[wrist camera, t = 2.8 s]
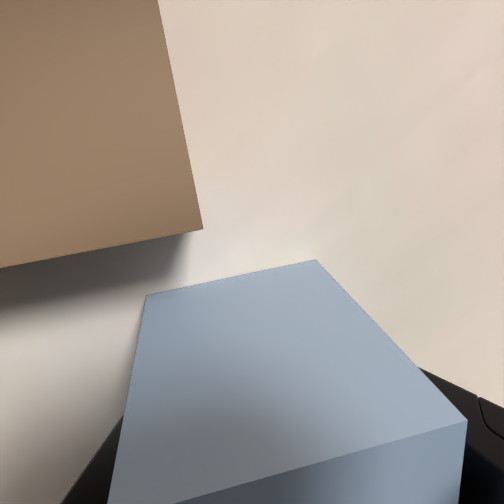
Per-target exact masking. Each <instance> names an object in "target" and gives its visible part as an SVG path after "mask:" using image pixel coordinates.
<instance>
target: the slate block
mask: <svg viewBox="0 0 504 504" xmlns="http://www.w3.org/2000/svg"><path fill="white" fill-rule="evenodd" d="M467 422H468V420H467V419H466V418H465V417H464V416H463V415H462V414H461V413H460V411H459V410H458V409H457V408H456V407H455V406H454V405H453V404H452V403H451V402H450V401H449V400H448V399H447V398H446V397H445V396H444V395H443V393H442V392H441V391H440V390H439V389H438V388H437V387H436V386H435V385H434V384H433V383H432V382H431V381H430V380H429V379H428V378H427V377H426V375H425V374H424V373H423V372H422V371H421V370H420V369H419V368H418V367H417V366H416V365H415V364H414V363H413V362H412V361H411V360H410V359H409V357H408V356H407V355H406V354H405V353H404V352H403V351H402V350H401V349H400V348H399V347H398V346H397V345H396V344H395V343H394V342H393V341H392V339H391V338H390V337H389V336H388V335H387V334H386V333H385V332H384V331H383V330H382V329H381V328H380V327H379V326H378V325H377V324H376V323H375V321H374V320H373V319H372V318H371V317H370V316H369V315H368V314H367V313H366V312H365V311H364V310H363V309H362V308H361V307H360V306H359V305H358V303H357V302H356V301H355V300H354V299H353V298H352V297H351V296H350V295H349V294H348V293H347V292H346V291H345V290H344V289H343V288H342V287H341V285H340V284H339V283H338V282H337V281H336V280H335V279H334V278H333V277H332V276H331V275H330V274H329V273H328V272H327V271H326V270H325V269H324V267H323V266H322V265H321V264H320V263H319V262H318V261H317V260H311V261H307V262H302V263H297V264H293V265H288V266H283V267H278V268H274V269H269V270H264V271H259V272H255V273H250V274H245V275H241V276H236V277H231V278H226V279H222V280H217V281H212V282H207V283H203V284H198V285H193V286H189V287H184V288H179V289H174V290H170V291H165V292H160V293H155V294H151V295H147V296H146V301H145V306H144V312H143V317H142V322H141V327H140V333H139V338H138V343H137V349H136V354H135V359H134V365H133V370H132V375H131V381H130V386H129V391H128V397H127V402H126V407H125V412H124V418H123V423H122V428H121V434H120V439H119V444H118V450H117V455H116V460H115V466H114V471H113V476H112V481H111V487H110V492H109V497H108V503H107V504H458V499H459V490H460V482H461V473H462V465H463V456H464V448H465V439H466V431H467Z"/></svg>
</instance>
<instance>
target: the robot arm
mask: <svg viewBox="0 0 504 504" xmlns="http://www.w3.org/2000/svg"><path fill="white" fill-rule="evenodd" d="M418 368H419V367H418ZM419 369H420V370H421V371H422V372H423V373H424V374H425V375H426V377H427V378H428V379H429V380H430V381H431V382H432V383H433V384H434V385H435V386H436V387H437V388H438V389H439V390H440V391H441V392H442V393H443V395H444V396H445V397H446V398H447V399H448V400H449V401H450V402H451V403H452V404H453V405H454V406H455V407H456V408H457V409H458V410H459V411H460V413H461V414H462V415H463V416H464V417H465V418H466V419H467V420H468V422H467V431H466V439H465V448H464V456H463V465H462V473H461V482H460V490H459V499H458V504H504V408H503V407H500V406H498V405H496V404H494V403H492V402H490V401H488V400H486V399H484V398H482V397H479V398H478V397H477V395H475V394H473V393H471V392H469V391H467V390H465V389H463V388H461V387H458V386H456V385H454V384H452V383H450V382H448V381H446V380H444V379H442V378H440V377H438V376H436V375H434V374H431V373H429V372H427V371H425V370H423V369H421V368H419ZM123 418H124V414H123V416H122V417H121V419H120V420H119V421H118V423H117V424H116V426H115V427H114V428H113V430H112V431H111V433H110V434H109V436H108V437H107V438H106V440H105V441H104V443H103V444H102V445H101V447H100V448H99V450H98V451H97V453H96V454H95V455H94V457H93V458H92V460H91V461H90V462H89V464H88V465H87V467H86V468H85V469H84V471H83V472H82V474H81V475H80V477H79V478H78V479H77V481H76V482H75V484H74V485H73V486H72V488H71V489H70V491H69V492H68V493H67V495H66V496H65V498H64V499H63V501H62V502H61V503H60V504H107V503H108V497H109V492H110V487H111V481H112V476H113V471H114V466H115V460H116V455H117V450H118V444H119V439H120V434H121V428H122V423H123Z"/></svg>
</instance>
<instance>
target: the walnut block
mask: <svg viewBox="0 0 504 504" xmlns="http://www.w3.org/2000/svg"><path fill="white" fill-rule="evenodd" d="M202 229H203V224H202V219H201V214H200V209H199V205H198V200H197V195H196V190H195V185H194V180H193V175H192V170H191V165H190V160H189V155H188V150H187V145H186V140H185V135H184V130H183V125H182V120H181V115H180V110H179V105H178V100H177V95H176V90H175V85H174V80H173V75H172V70H171V65H170V60H169V56H168V51H167V46H166V41H165V36H164V31H163V26H162V21H161V16H160V11H159V6H158V1H157V0H0V268H3V267H8V266H13V265H19V264H24V263H29V262H34V261H40V260H45V259H50V258H55V257H61V256H66V255H71V254H76V253H81V252H87V251H92V250H97V249H102V248H108V247H113V246H118V245H123V244H129V243H134V242H139V241H144V240H150V239H155V238H160V237H165V236H170V235H176V234H181V233H186V232H191V231H197V230H202Z"/></svg>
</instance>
